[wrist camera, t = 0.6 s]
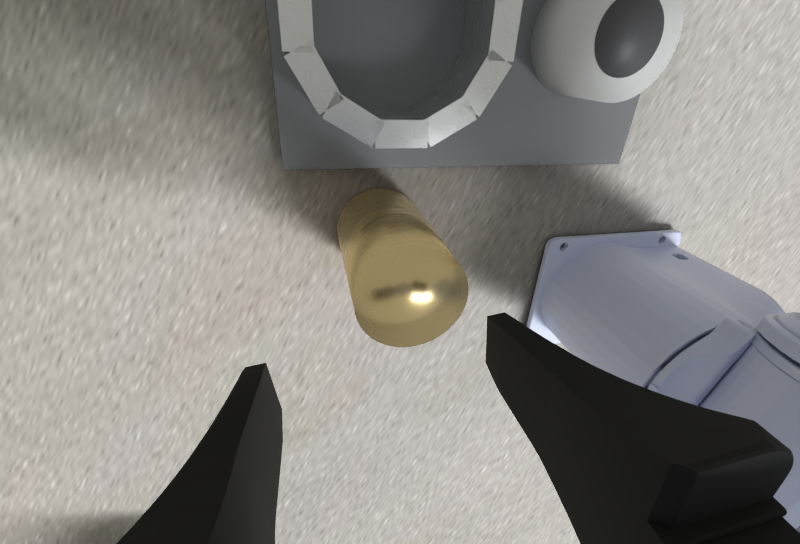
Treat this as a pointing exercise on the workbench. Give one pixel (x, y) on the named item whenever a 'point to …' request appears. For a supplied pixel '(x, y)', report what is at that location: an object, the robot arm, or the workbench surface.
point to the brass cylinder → (398, 270)
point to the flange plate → (513, 100)
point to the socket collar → (431, 116)
